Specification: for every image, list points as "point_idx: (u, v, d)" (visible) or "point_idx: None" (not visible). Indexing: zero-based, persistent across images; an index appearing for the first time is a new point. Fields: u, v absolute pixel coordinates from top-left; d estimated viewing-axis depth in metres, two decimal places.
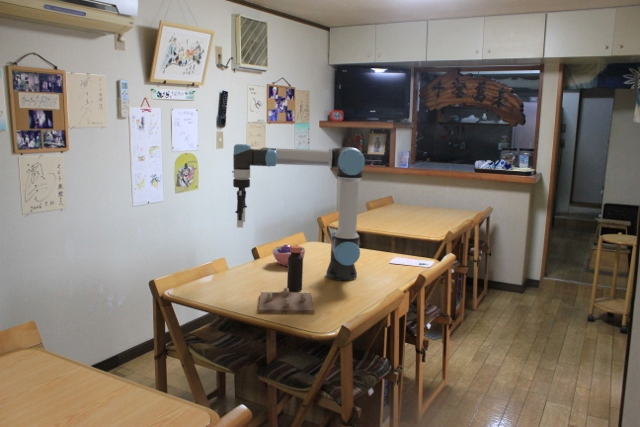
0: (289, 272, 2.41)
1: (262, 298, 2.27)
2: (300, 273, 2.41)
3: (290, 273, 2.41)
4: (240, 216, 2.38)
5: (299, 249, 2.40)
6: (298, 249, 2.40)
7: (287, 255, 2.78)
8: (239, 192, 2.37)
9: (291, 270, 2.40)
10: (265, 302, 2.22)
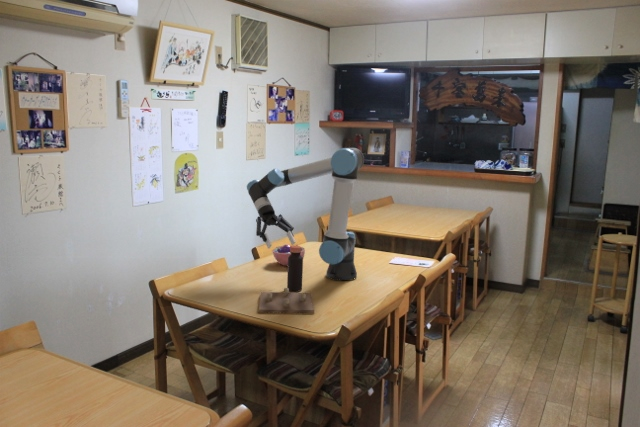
0: (289, 272, 2.41)
1: (262, 298, 2.27)
2: (300, 273, 2.41)
3: (290, 273, 2.41)
4: (263, 237, 2.46)
5: (299, 249, 2.40)
6: (298, 249, 2.40)
7: (287, 255, 2.78)
8: (256, 219, 2.52)
9: (291, 270, 2.40)
10: (265, 302, 2.22)
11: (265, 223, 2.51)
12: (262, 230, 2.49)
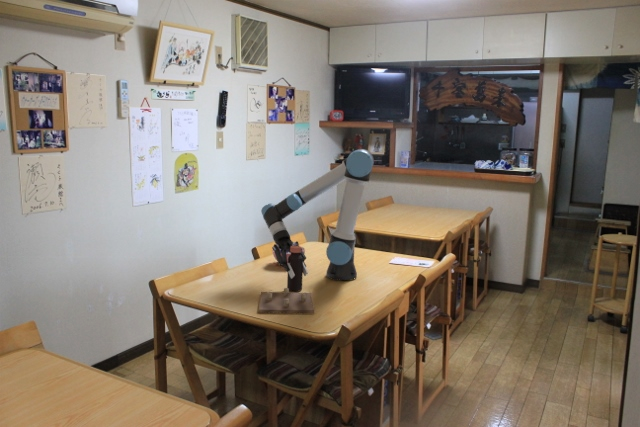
0: None
1: (262, 298, 2.27)
2: (300, 273, 2.41)
3: None
4: (285, 267, 2.40)
5: (299, 249, 2.40)
6: (298, 249, 2.40)
7: (287, 255, 2.78)
8: (273, 247, 2.44)
9: None
10: (265, 302, 2.22)
11: (283, 251, 2.44)
12: (283, 259, 2.42)
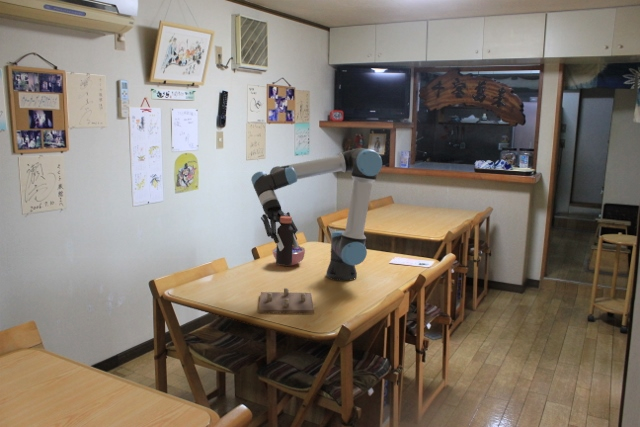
0: None
1: (262, 298, 2.27)
2: (290, 245, 2.24)
3: None
4: (274, 238, 2.22)
5: (289, 219, 2.23)
6: (288, 219, 2.22)
7: None
8: (262, 218, 2.27)
9: None
10: (265, 302, 2.22)
11: (273, 221, 2.26)
12: (272, 230, 2.24)
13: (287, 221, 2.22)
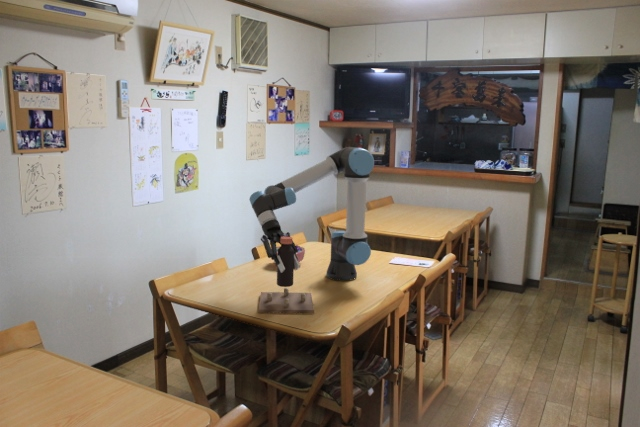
0: None
1: (262, 298, 2.27)
2: (291, 267, 2.20)
3: None
4: (275, 260, 2.18)
5: (290, 240, 2.19)
6: (289, 240, 2.18)
7: None
8: (261, 239, 2.22)
9: None
10: (265, 302, 2.22)
11: (273, 242, 2.22)
12: (273, 251, 2.20)
13: (288, 242, 2.18)
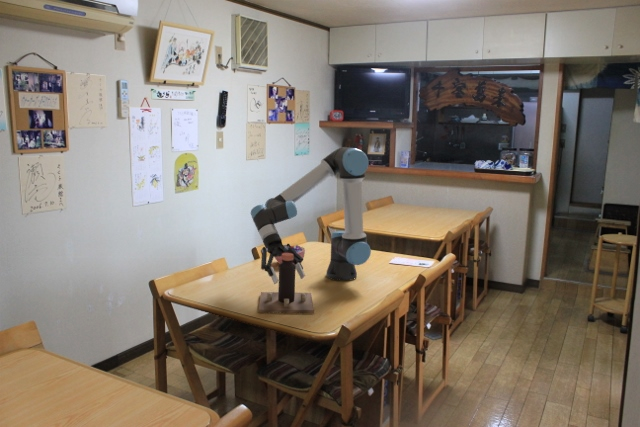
0: (280, 282, 2.21)
1: (262, 298, 2.27)
2: (292, 283, 2.21)
3: (281, 282, 2.21)
4: (268, 271, 2.18)
5: (291, 257, 2.20)
6: (290, 257, 2.20)
7: None
8: (261, 250, 2.24)
9: (283, 280, 2.20)
10: (265, 302, 2.22)
11: (271, 255, 2.23)
12: (268, 263, 2.20)
13: (289, 258, 2.19)
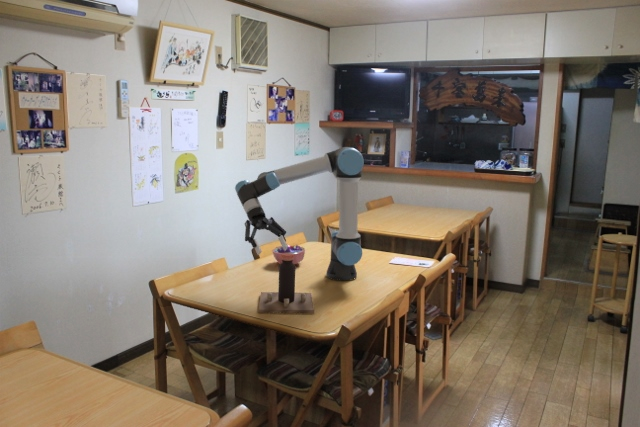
0: (280, 282, 2.21)
1: (262, 298, 2.27)
2: (292, 283, 2.21)
3: (281, 282, 2.21)
4: (252, 243, 2.25)
5: (291, 257, 2.20)
6: (290, 257, 2.20)
7: None
8: (245, 223, 2.31)
9: (283, 280, 2.20)
10: (265, 302, 2.22)
11: (255, 227, 2.30)
12: (251, 235, 2.28)
13: (289, 258, 2.19)
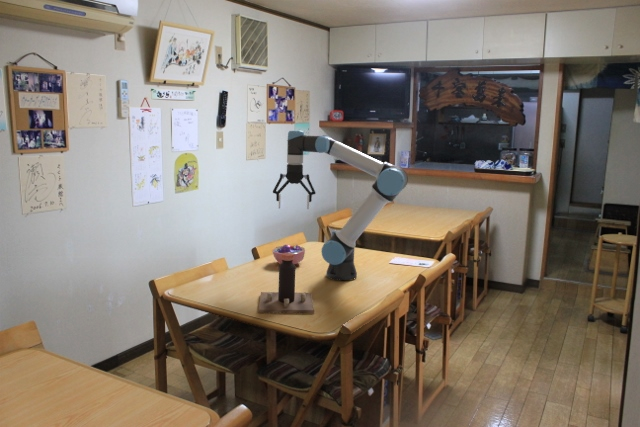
0: (280, 282, 2.21)
1: (262, 298, 2.27)
2: (292, 283, 2.21)
3: (281, 282, 2.21)
4: (276, 197, 2.54)
5: (291, 257, 2.20)
6: (290, 257, 2.20)
7: None
8: (280, 175, 2.53)
9: (283, 280, 2.20)
10: (265, 302, 2.22)
11: (285, 183, 2.52)
12: (279, 189, 2.53)
13: (289, 258, 2.19)
